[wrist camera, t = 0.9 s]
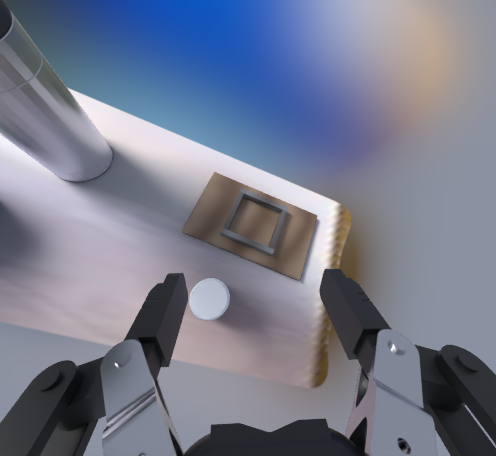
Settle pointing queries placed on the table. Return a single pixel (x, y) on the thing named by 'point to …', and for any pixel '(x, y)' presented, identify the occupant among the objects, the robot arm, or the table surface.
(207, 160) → the table surface
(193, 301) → the supplement bottle
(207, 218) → the seat board
